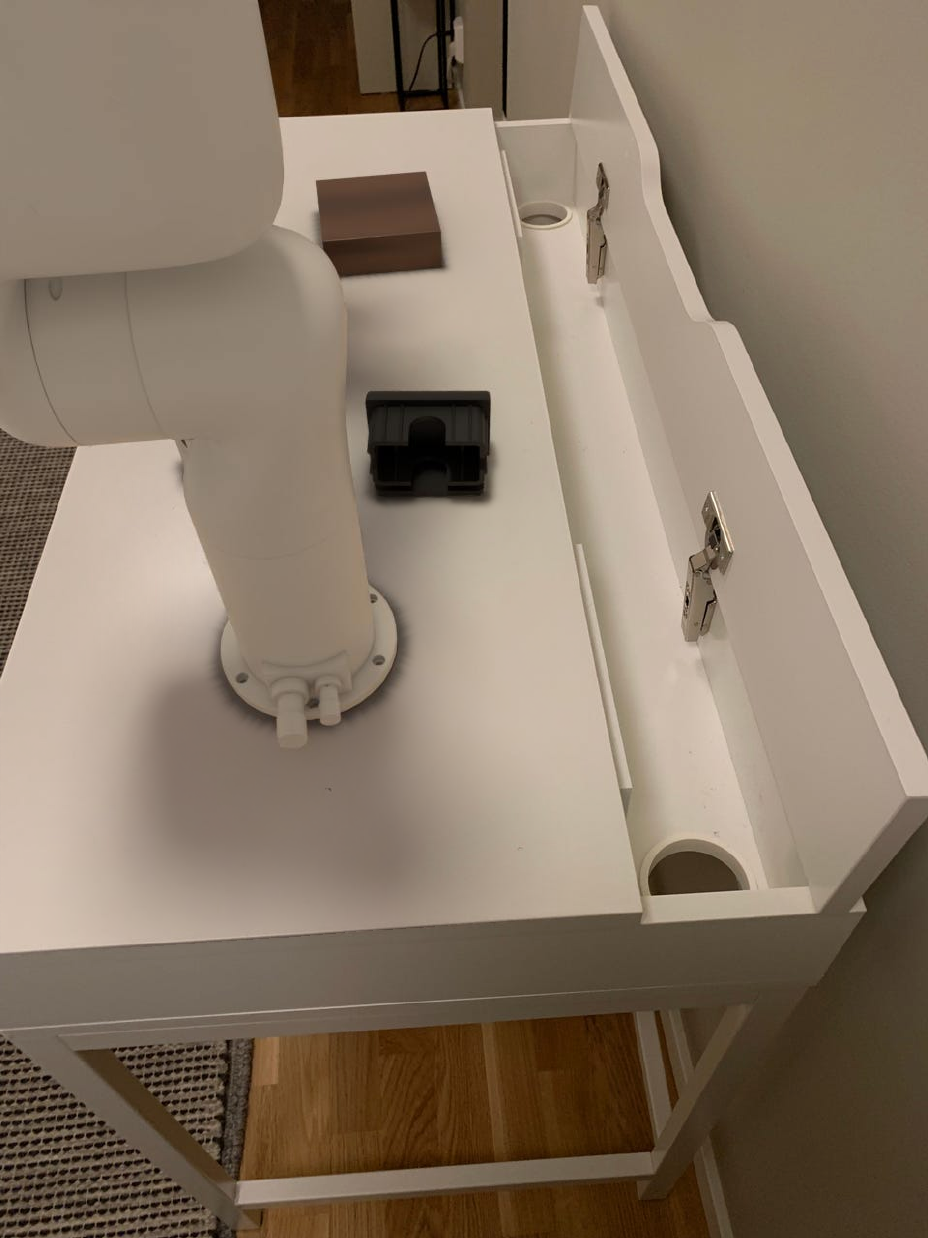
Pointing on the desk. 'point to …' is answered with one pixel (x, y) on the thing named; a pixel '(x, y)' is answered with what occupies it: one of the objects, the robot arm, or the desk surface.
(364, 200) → the riser
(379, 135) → the desk surface
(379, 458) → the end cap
